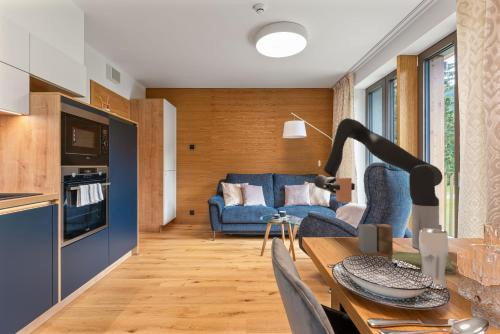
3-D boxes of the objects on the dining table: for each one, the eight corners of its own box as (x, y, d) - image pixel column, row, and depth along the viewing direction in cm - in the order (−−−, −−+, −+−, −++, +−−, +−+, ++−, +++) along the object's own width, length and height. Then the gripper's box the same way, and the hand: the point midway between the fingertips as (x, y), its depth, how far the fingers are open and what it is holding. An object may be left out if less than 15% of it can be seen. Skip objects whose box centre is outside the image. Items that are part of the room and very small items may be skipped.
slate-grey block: (371, 249, 110) (370, 224, 110) (376, 253, 105) (376, 226, 105) (358, 249, 110) (358, 224, 110) (363, 253, 105) (363, 226, 105)
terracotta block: (347, 200, 122) (347, 177, 122) (351, 201, 117) (351, 178, 117) (336, 200, 122) (335, 177, 122) (339, 202, 117) (339, 178, 117)
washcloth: (391, 256, 103) (391, 247, 103) (450, 264, 94) (450, 254, 94) (390, 267, 91) (390, 258, 91) (457, 277, 83) (457, 266, 83)
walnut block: (386, 249, 110) (386, 223, 110) (392, 253, 105) (392, 226, 105) (373, 249, 110) (373, 224, 110) (379, 253, 105) (379, 226, 105)
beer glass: (439, 280, 80) (439, 228, 80) (454, 291, 73) (454, 233, 73) (413, 279, 81) (413, 227, 81) (426, 290, 74) (426, 233, 74)
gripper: (318, 177, 134) (328, 178, 117) (348, 177, 134) (362, 178, 117) (318, 192, 134) (328, 196, 117) (348, 192, 134) (362, 196, 117)
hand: (345, 187), depth 117 cm, fingers closed on terracotta block, 5 cm apart
